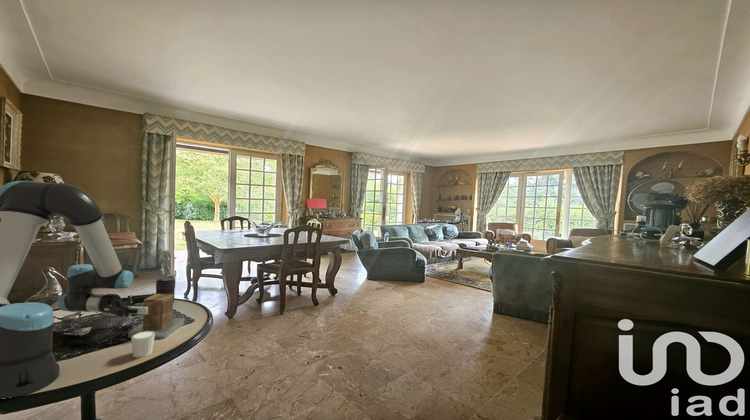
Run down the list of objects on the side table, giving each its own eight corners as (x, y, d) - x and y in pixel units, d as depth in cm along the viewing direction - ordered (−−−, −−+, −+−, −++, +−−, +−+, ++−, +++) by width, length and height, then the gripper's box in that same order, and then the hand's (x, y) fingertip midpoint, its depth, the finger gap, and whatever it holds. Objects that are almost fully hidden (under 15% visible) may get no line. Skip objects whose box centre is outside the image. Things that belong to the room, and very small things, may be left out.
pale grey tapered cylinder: (144, 359, 104) (145, 339, 104) (125, 357, 105) (126, 338, 104) (158, 349, 111) (159, 331, 111) (141, 348, 111) (141, 330, 111)
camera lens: (164, 311, 146) (165, 281, 146) (150, 309, 148) (152, 279, 147) (178, 305, 154) (179, 277, 153) (165, 303, 156) (166, 275, 155)
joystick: (128, 337, 118) (129, 314, 118) (151, 323, 132) (151, 302, 132) (165, 338, 120) (166, 315, 120) (184, 323, 134) (184, 303, 134)
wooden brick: (142, 328, 122) (144, 299, 122) (154, 320, 129) (155, 293, 129) (161, 328, 123) (163, 300, 122) (172, 321, 130) (173, 294, 130)
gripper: (126, 301, 137) (174, 303, 139) (77, 324, 112) (136, 325, 114) (127, 285, 136) (175, 287, 138) (78, 304, 112) (137, 306, 114)
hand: (158, 304), depth 126 cm, fingers open, 13 cm apart
